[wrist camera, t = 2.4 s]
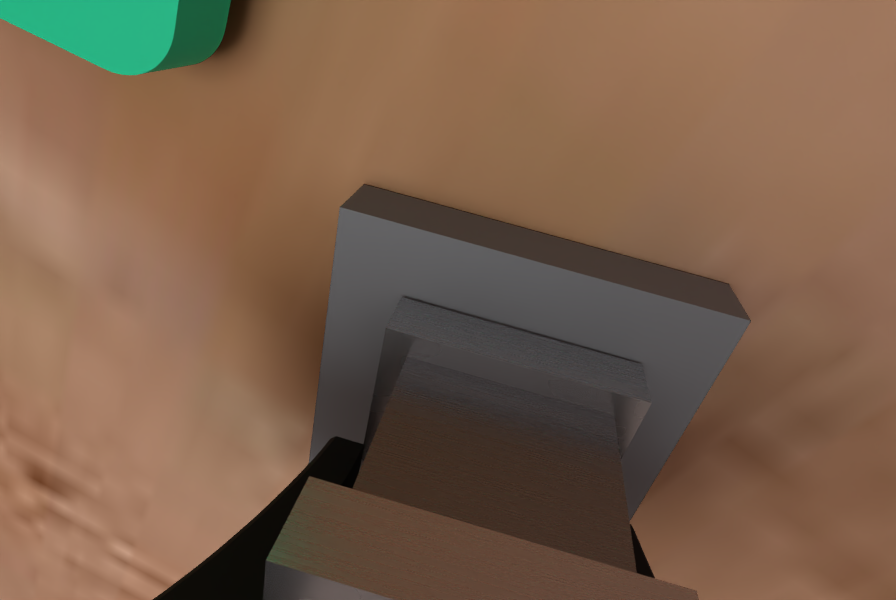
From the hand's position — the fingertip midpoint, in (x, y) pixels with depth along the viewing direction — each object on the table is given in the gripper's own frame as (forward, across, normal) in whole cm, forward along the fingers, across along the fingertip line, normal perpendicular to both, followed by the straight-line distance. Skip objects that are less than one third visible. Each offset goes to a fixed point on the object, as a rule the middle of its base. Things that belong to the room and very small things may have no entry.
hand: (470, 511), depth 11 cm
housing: (+2, 0, 0) cm, 2 cm away
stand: (+3, 0, 0) cm, 3 cm away
